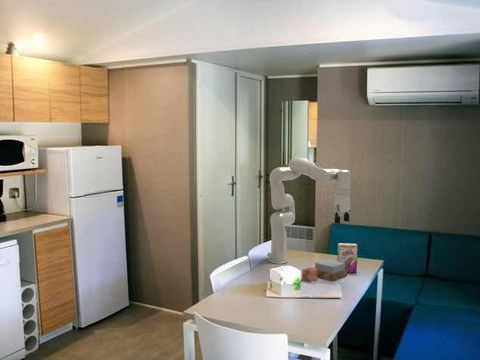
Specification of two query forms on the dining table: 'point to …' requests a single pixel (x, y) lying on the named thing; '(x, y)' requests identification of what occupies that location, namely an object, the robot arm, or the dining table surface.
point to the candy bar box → (348, 256)
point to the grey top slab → (330, 266)
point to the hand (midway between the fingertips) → (341, 222)
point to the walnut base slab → (332, 275)
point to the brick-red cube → (309, 274)
